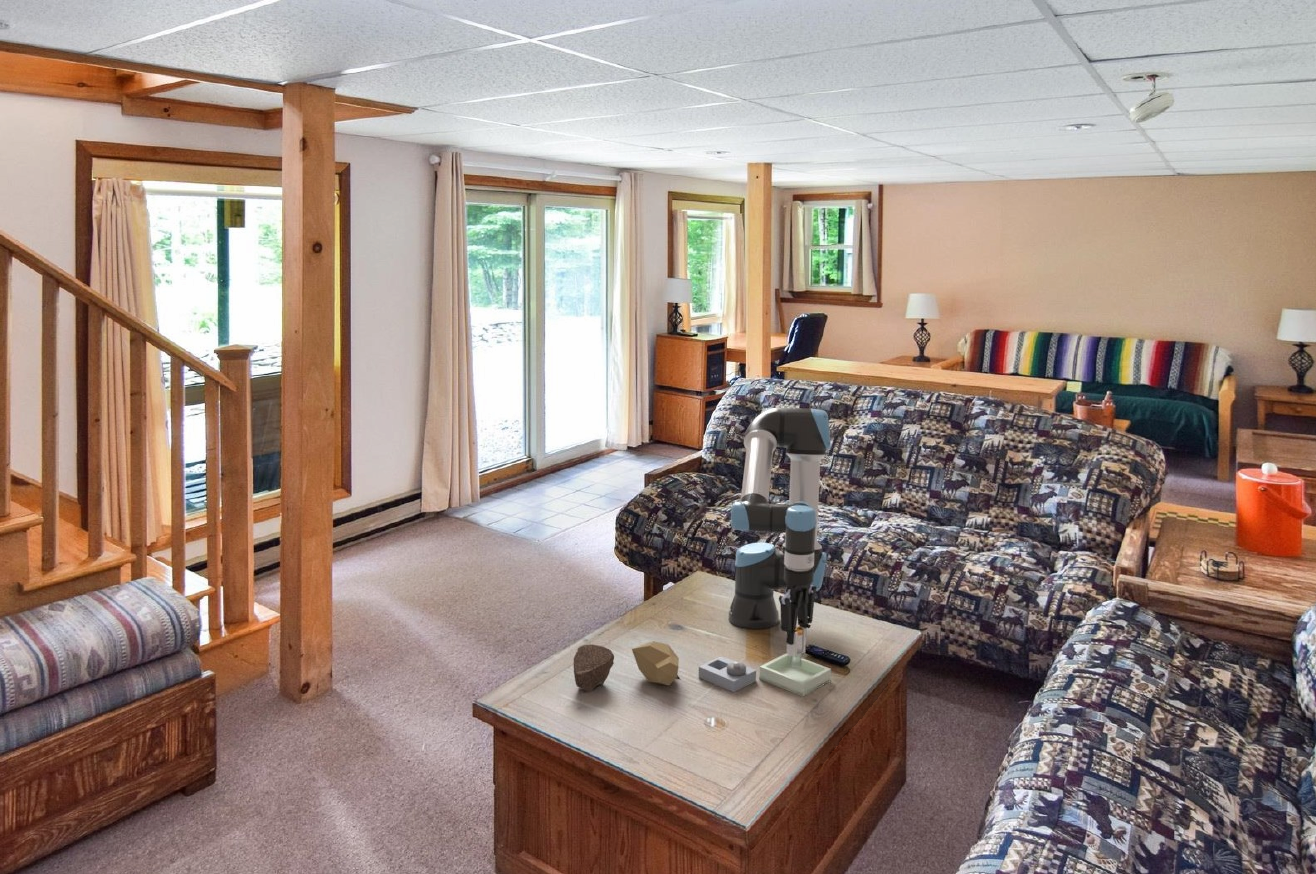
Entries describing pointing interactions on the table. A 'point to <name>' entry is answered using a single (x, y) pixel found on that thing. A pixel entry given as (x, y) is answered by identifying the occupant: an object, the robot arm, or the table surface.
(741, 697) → the table surface
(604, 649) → the rock
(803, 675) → the tray
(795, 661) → the lock pin
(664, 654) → the low-poly potato
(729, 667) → the block
